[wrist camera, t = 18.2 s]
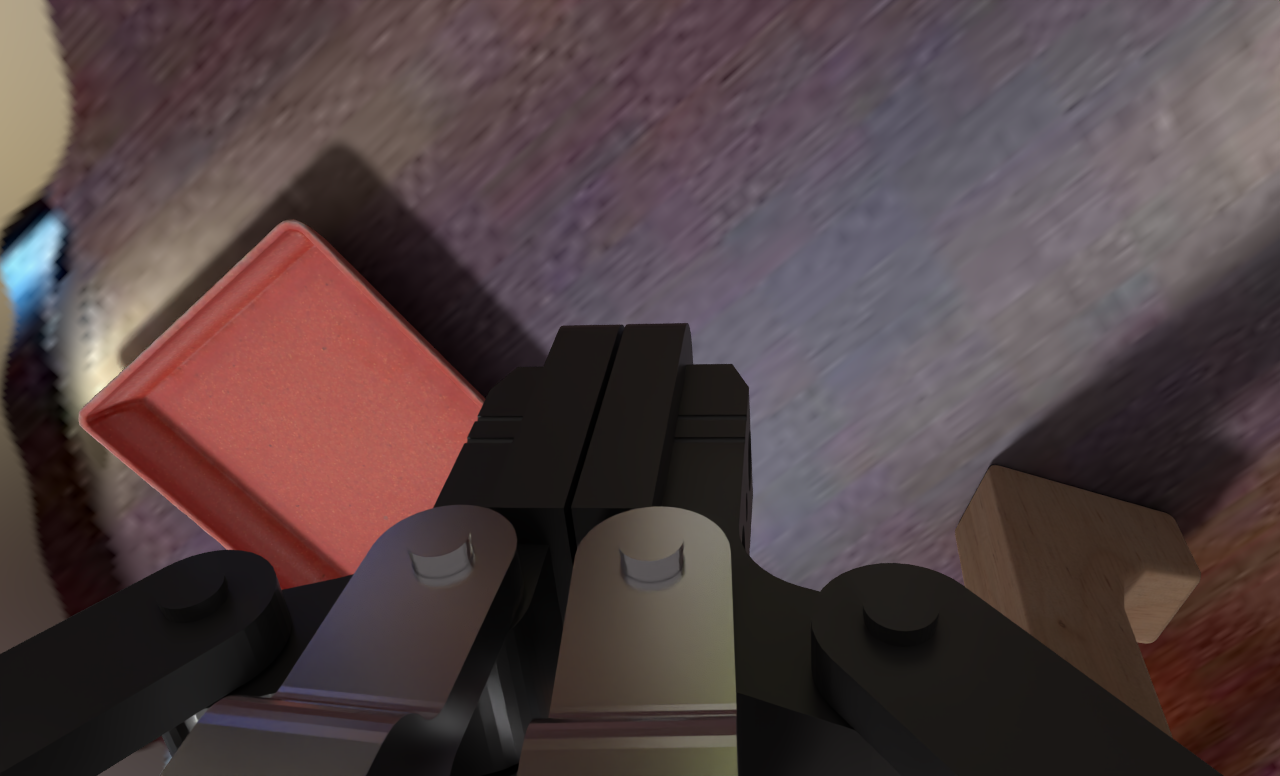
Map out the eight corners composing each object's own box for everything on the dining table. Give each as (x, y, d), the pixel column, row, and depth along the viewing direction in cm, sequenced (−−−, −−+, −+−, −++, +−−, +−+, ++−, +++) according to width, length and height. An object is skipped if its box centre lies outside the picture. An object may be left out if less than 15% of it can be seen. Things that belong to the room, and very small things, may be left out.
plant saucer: (360, 605, 59) (337, 648, 56) (105, 387, 53) (67, 422, 50) (591, 458, 51) (578, 498, 48) (322, 183, 45) (290, 211, 43)
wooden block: (1175, 512, 48) (1348, 864, 32) (1128, 580, 50) (1267, 939, 35) (989, 459, 47) (1075, 788, 32) (951, 530, 50) (1013, 868, 35)
